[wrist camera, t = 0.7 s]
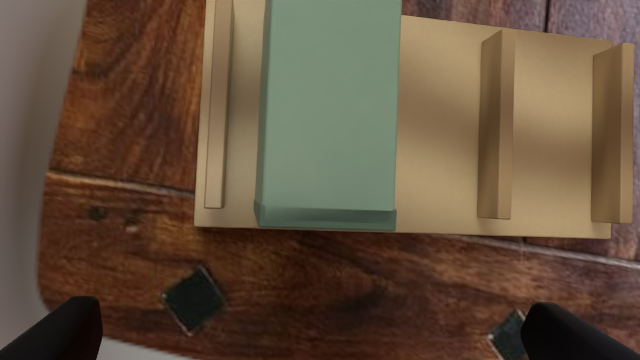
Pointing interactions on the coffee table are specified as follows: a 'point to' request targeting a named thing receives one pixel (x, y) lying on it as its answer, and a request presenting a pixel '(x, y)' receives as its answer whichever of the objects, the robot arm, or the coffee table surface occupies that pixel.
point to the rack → (450, 128)
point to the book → (328, 115)
